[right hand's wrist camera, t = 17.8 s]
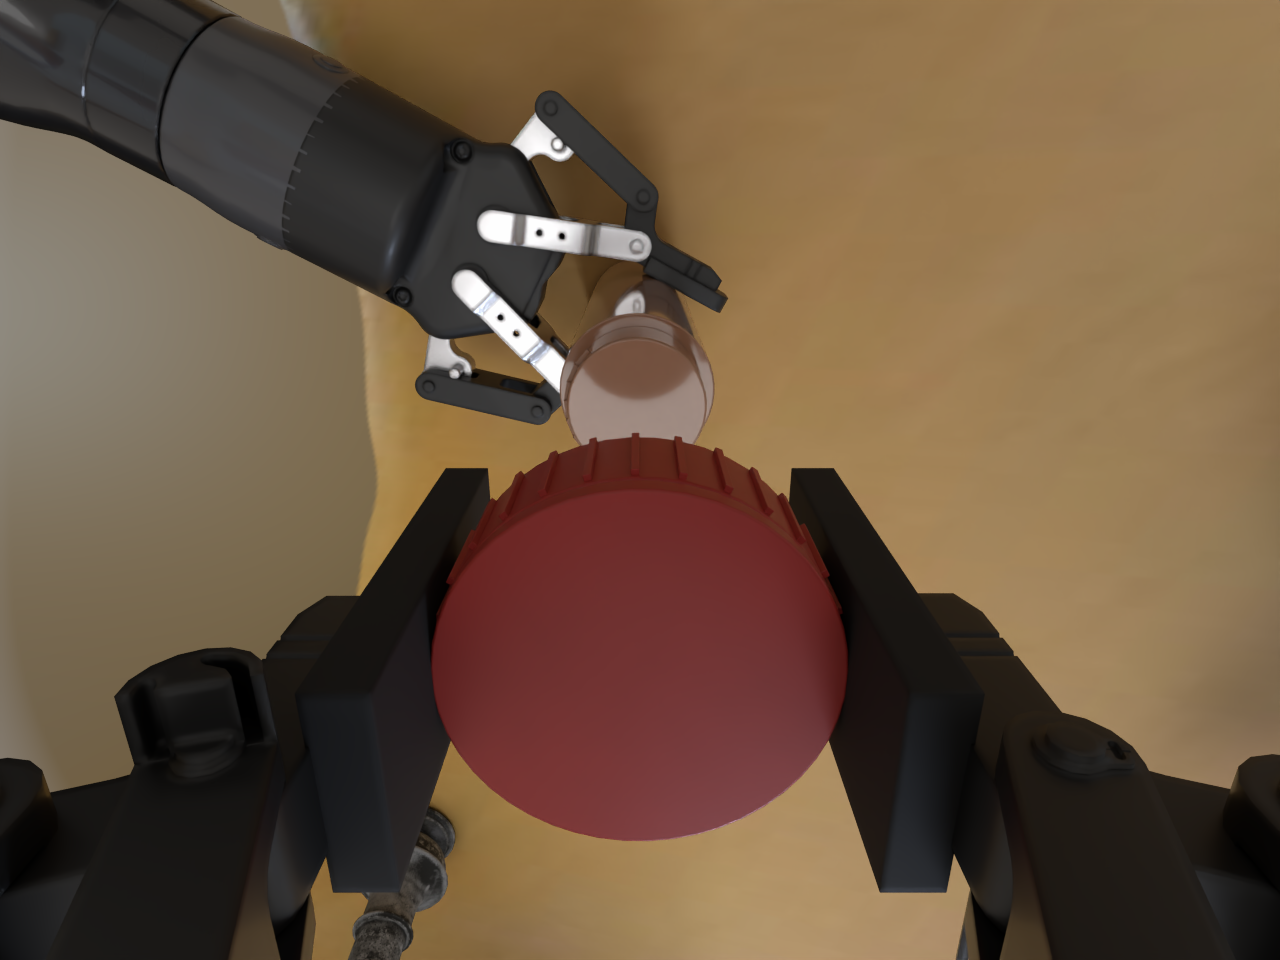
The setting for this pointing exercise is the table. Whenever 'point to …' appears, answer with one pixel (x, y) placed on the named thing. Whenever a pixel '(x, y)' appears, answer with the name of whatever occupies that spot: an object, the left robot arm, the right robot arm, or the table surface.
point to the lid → (639, 642)
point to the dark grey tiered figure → (406, 895)
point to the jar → (636, 363)
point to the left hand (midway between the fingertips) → (689, 358)
